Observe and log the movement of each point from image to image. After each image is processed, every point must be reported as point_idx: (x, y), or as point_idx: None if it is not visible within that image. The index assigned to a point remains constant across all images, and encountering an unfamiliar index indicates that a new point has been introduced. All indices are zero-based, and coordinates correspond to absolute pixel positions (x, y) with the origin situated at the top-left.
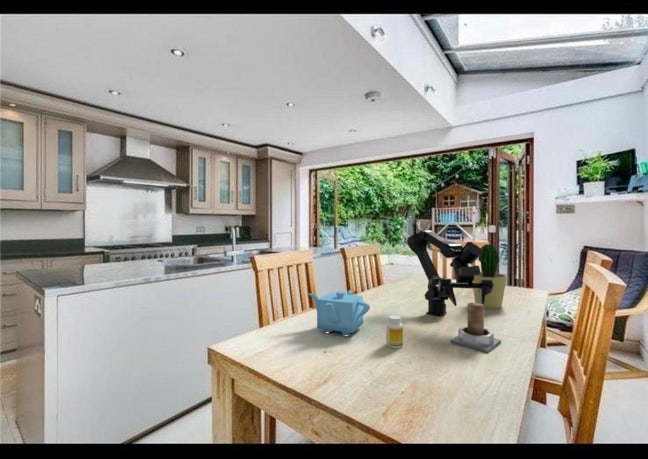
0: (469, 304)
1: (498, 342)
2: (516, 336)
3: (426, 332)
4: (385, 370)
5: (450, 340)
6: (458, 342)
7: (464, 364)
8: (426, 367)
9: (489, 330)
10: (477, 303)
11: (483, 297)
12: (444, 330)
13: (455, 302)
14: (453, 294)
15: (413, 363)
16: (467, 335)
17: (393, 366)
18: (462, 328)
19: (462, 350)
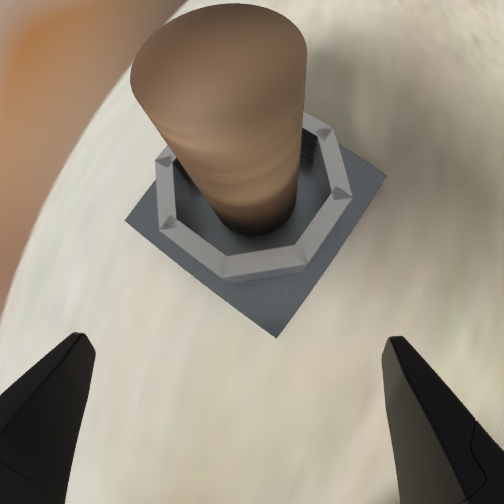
0: (287, 45)
1: (148, 192)
2: (44, 325)
3: (475, 324)
4: (499, 20)
5: (385, 175)
6: (349, 151)
7: (339, 20)
8: (433, 15)
9: (158, 205)
10: (172, 100)
11: (16, 392)
12: (383, 384)
13: (407, 352)
14: (458, 448)
15: (466, 34)
16: (311, 118)
17: (495, 30)
18: (323, 217)
19: (336, 106)
